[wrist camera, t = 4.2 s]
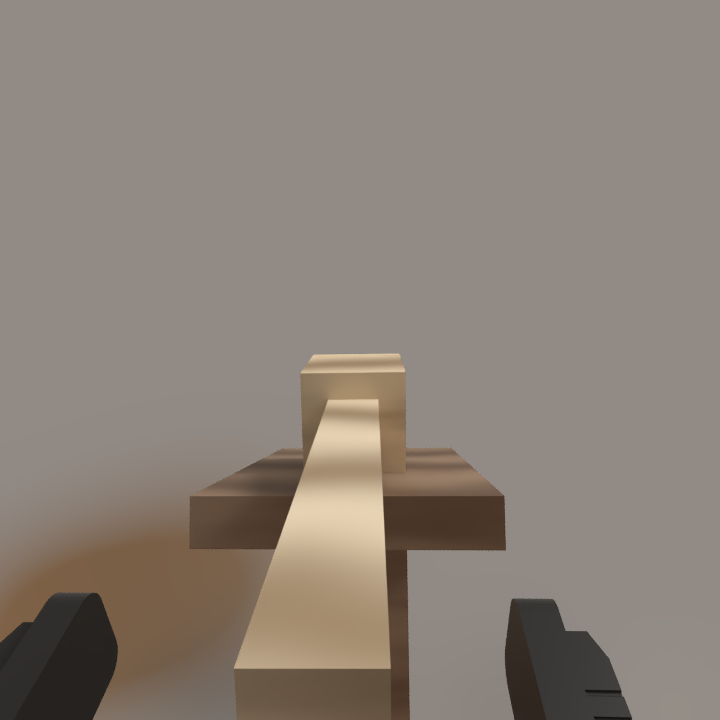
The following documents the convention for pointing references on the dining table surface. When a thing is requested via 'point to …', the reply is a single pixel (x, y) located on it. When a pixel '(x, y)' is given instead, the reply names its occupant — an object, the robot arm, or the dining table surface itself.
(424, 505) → the stand
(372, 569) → the mallet
